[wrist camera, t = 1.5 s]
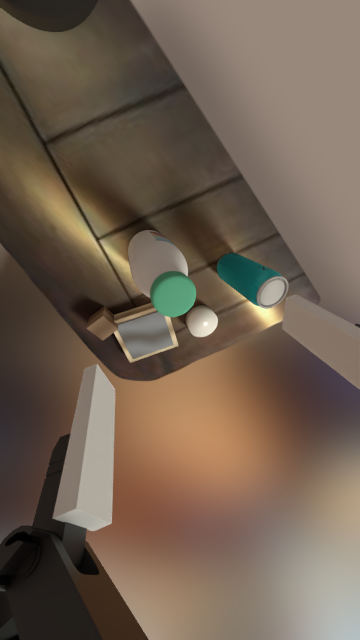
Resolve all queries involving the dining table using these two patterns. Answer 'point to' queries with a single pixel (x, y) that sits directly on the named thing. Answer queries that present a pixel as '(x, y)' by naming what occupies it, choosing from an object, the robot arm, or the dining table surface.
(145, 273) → the milk bottle
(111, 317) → the tan wooden block
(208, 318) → the white rounded block
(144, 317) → the wooden picture frame
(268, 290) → the beverage can
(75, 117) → the dining table surface
